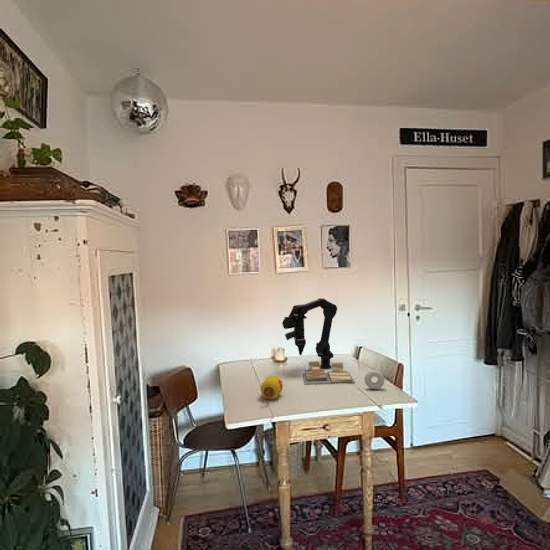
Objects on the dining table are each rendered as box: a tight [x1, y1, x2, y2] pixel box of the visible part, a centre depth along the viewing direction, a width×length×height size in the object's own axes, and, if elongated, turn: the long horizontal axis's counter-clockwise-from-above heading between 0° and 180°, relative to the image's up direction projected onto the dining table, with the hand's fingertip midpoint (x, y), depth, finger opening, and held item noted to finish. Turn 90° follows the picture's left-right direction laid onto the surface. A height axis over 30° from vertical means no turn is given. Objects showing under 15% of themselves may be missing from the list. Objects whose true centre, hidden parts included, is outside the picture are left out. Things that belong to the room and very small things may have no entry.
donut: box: [364, 369, 385, 390], centre depth 210 cm, size 10×4×10 cm, turn 81°
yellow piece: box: [260, 375, 284, 400], centre depth 204 cm, size 10×10×30 cm
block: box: [312, 367, 321, 376], centre depth 232 cm, size 4×4×4 cm
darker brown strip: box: [304, 360, 327, 381], centre depth 235 cm, size 18×11×6 cm, turn 179°
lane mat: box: [302, 371, 356, 386], centre depth 232 cm, size 20×27×1 cm
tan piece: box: [327, 361, 352, 382], centre depth 230 cm, size 18×11×6 cm, turn 179°
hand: (300, 353), depth 243 cm, fingers open, 9 cm apart
